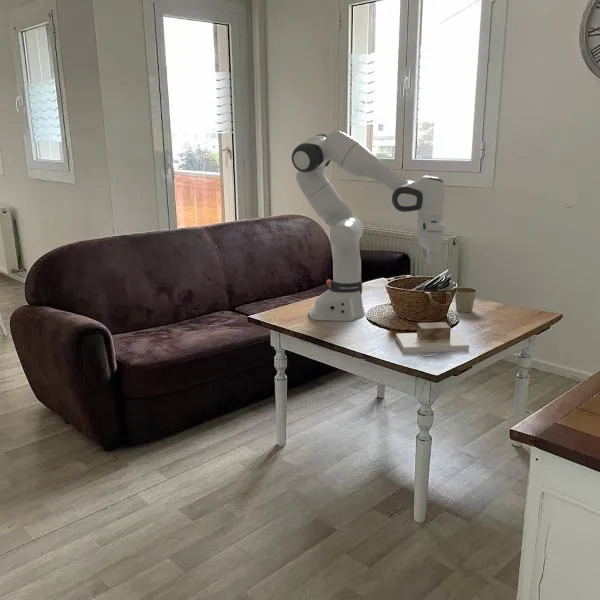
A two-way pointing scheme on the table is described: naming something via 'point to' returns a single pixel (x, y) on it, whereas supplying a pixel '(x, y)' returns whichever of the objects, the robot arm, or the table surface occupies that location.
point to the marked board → (431, 344)
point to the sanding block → (433, 332)
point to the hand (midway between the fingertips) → (427, 260)
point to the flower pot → (465, 299)
